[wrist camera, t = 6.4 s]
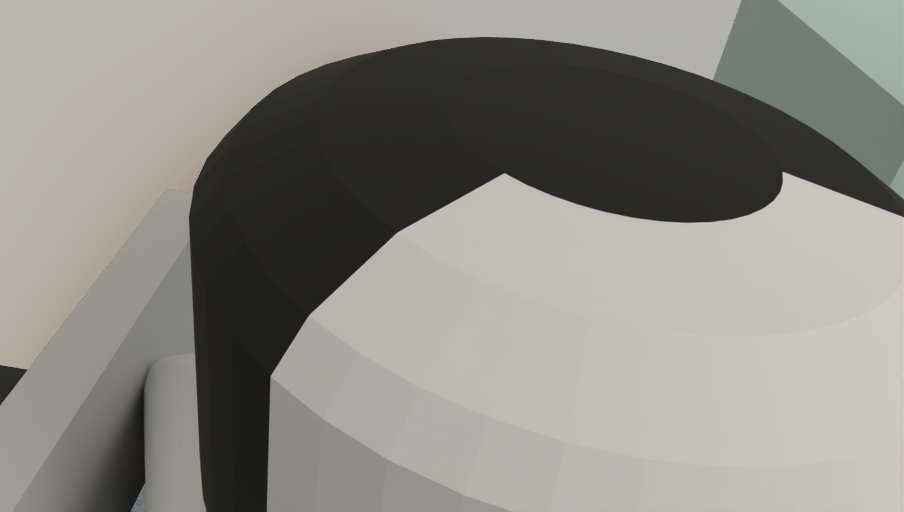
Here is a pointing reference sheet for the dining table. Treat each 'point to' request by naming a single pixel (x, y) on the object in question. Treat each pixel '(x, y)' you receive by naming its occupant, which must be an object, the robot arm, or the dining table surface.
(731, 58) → the tower top block
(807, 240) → the medicine bottle
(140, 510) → the dining table surface
